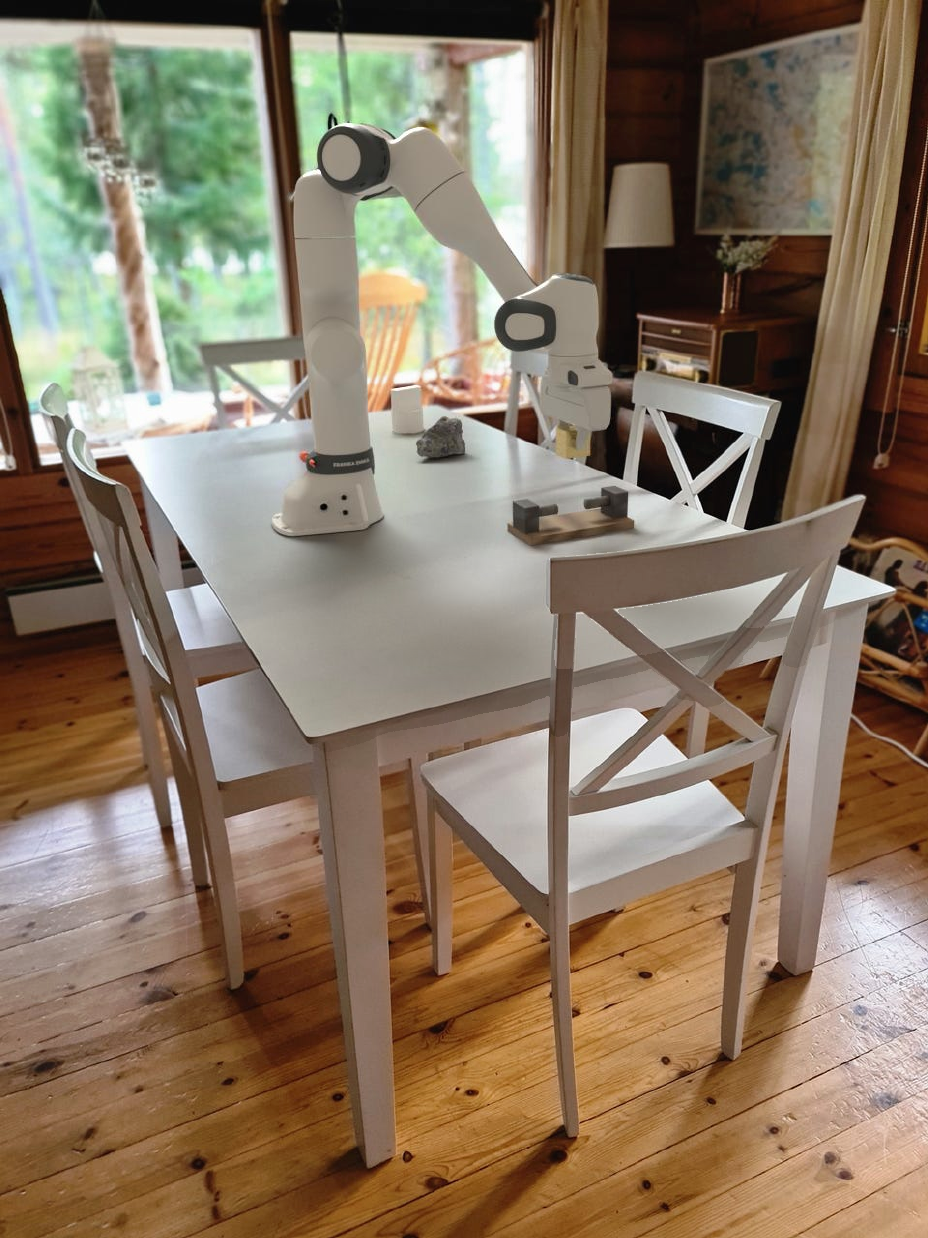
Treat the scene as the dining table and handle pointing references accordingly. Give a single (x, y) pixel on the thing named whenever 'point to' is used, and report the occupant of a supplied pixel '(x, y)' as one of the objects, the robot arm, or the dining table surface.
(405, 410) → the cylinder with rectangular tab
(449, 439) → the mineral rock
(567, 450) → the yellow cube
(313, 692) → the dining table surface
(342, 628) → the dining table surface
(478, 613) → the dining table surface
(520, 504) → the shaft stand
